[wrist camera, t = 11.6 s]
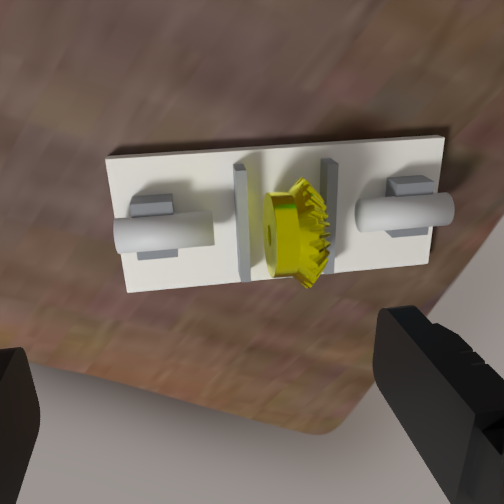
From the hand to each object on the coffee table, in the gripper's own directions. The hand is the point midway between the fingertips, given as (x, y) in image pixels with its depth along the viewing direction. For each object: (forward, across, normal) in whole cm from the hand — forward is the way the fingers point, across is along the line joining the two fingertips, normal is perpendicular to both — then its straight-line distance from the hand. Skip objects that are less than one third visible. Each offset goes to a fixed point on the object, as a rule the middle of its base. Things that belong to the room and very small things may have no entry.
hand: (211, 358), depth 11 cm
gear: (+26, -8, +6) cm, 28 cm away
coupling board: (+27, -8, +6) cm, 28 cm away
